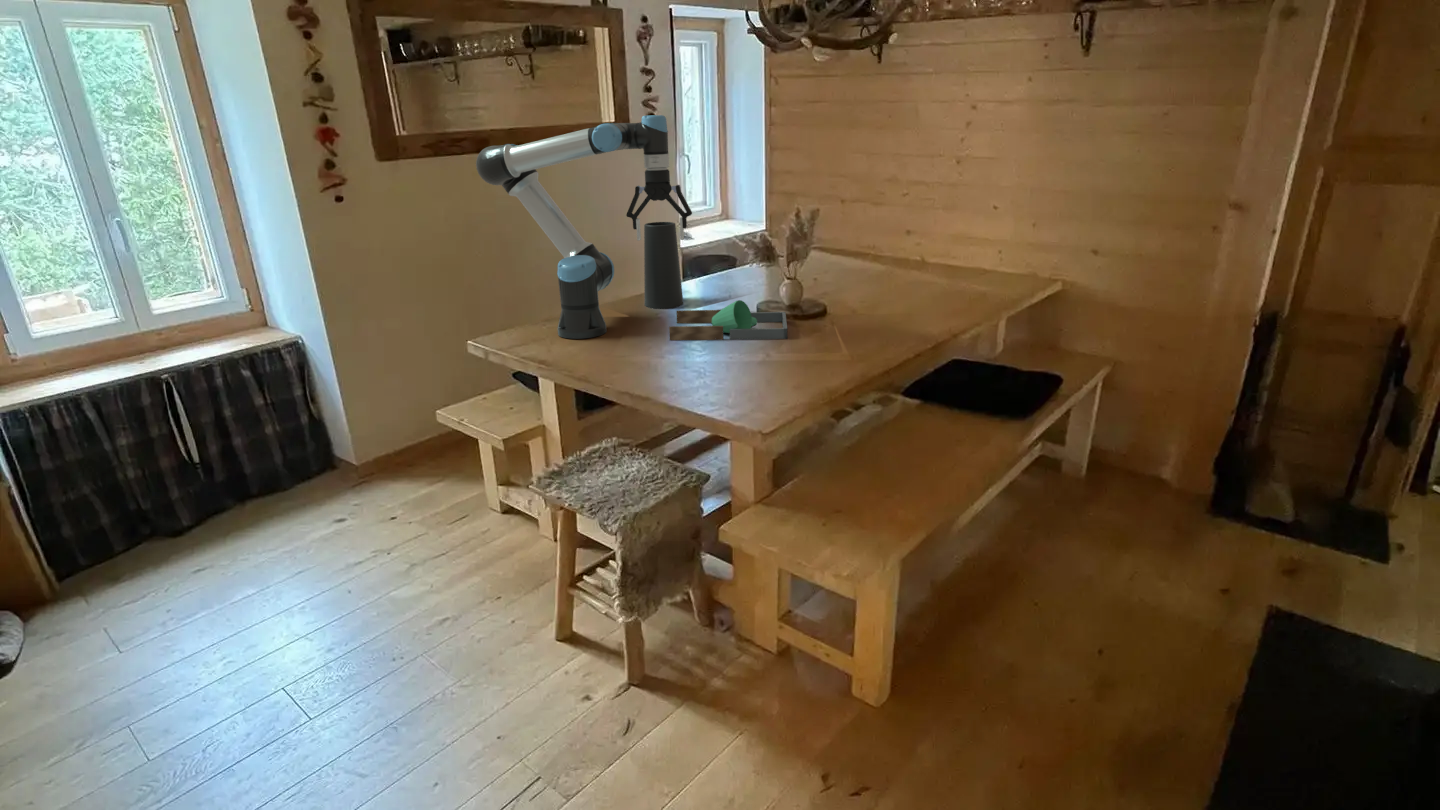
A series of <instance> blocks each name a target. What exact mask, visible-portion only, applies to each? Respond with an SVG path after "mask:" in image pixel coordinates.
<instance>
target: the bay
mask: <svg viewBox="0 0 1440 810" xmlns="http://www.w3.org/2000/svg"><path fill="white" fill-rule="evenodd" d="M721 310H722V309H699V310H697V309H692V310H676V311H675V313H676V324H712V318H713V316H714V315H716V314H717V313H718V312H719V311H721ZM668 334H669V341H713V340H715V341H719V340H720V341H724V332H723V326H712V325H685V326H684V325H683V326H682V325H679V326H677V325H676V326H675V325H674V326H669V327H668Z"/></svg>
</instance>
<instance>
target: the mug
mask: <svg viewBox="0 0 1440 810" xmlns="http://www.w3.org/2000/svg"><path fill="white" fill-rule="evenodd" d="M720 310H721V311H719V312H718V313H717V314H716V315H714V316H713V318H712V323H711V326H723V333H726V334H727V333H728V334H730V329H752V328H754V327H755V326H757V324H758V322H757V319H756V318H754V317H752V316H751V309H750V308H749V306H748V304H747V303H746V302H744V301H743V300H740V299H739V300H736V301H734V302H732V303H730V304H728V305H727V306H725V307H724V308H722V309H720Z"/></svg>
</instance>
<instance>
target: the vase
mask: <svg viewBox="0 0 1440 810" xmlns="http://www.w3.org/2000/svg"><path fill="white" fill-rule="evenodd" d="M643 226H644V227H643V230H644V231H643V232H644V236H643V238H644V240H643V243H644V244H643V245H644V247H643V249H644V251H643V252H644V253H643V254H644V256H643V259H644V260H643V261H644V262H643V263H644V266H643V267H644V268H643V269H644V270H643V271H644V278H643V280H644V285H643V286H644V306H645V308H648V309H652V308H653V310H669V309H675V308H679V307H682V306H683V305H684V297H683V287H682V277H681V267H680V257H679V246H678V245H679V244H678V236H677V227H676V223H675V222H673V221H672V222H671V221H654V222H647V223H645V224H643Z"/></svg>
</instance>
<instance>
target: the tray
mask: <svg viewBox="0 0 1440 810" xmlns="http://www.w3.org/2000/svg"><path fill="white" fill-rule="evenodd" d="M750 312H751V311H750ZM751 316H752V317H754V318H756V319H757V323H782V327H779V328H778V327H774V328H773V327H771V328H770V327H769V328H762V327H761V328H751V329H730V333H729V340H731V341H732V340H787V339H788V324H787V315H786V311H762V312H761V311H759V312H756V311H755V312H753V311H752V312H751Z"/></svg>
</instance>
